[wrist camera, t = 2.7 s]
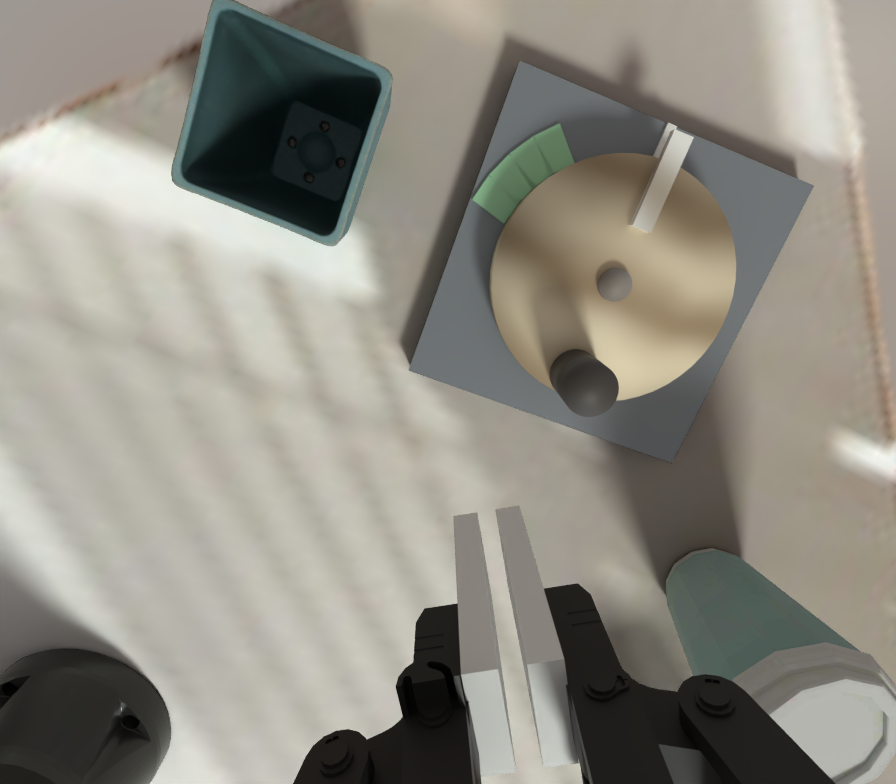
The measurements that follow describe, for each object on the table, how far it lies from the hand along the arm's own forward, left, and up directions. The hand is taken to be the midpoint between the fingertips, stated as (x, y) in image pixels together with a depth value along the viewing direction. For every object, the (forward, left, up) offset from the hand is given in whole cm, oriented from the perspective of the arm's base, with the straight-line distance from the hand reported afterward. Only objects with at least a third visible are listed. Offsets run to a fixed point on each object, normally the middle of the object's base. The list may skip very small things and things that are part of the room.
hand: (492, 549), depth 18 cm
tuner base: (+6, +10, -22) cm, 25 cm away
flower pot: (-14, +10, -23) cm, 29 cm away
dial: (+6, +10, -21) cm, 24 cm away
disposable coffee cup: (+24, -10, -23) cm, 34 cm away
